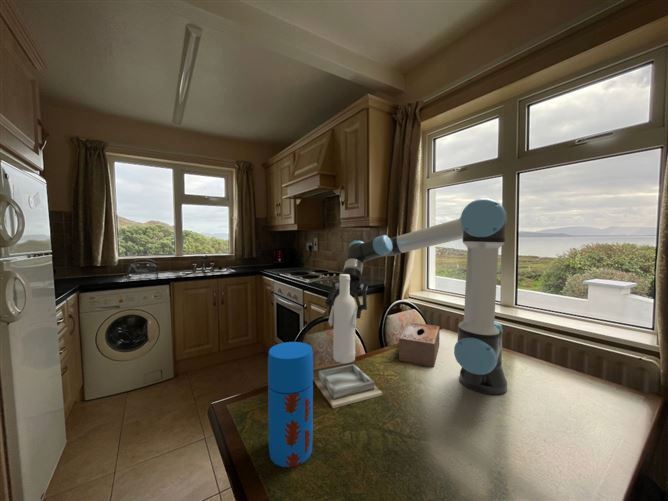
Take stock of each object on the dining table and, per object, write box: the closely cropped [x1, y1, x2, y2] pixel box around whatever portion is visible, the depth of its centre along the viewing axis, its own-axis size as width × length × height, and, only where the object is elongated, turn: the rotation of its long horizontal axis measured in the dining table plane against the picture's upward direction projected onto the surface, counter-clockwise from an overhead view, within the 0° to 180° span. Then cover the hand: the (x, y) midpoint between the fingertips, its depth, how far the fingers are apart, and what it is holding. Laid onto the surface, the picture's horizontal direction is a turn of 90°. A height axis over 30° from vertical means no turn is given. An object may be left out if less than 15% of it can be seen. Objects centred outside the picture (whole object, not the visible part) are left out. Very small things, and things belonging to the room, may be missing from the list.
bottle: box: [332, 273, 356, 363], centre depth 95 cm, size 8×8×30 cm
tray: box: [313, 359, 383, 409], centre depth 95 cm, size 20×18×4 cm
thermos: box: [267, 341, 314, 468], centre depth 66 cm, size 11×11×25 cm
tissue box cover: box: [398, 322, 440, 368], centre depth 125 cm, size 26×14×10 cm, turn 154°
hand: (341, 324), depth 92 cm, fingers closed on bottle, 8 cm apart
